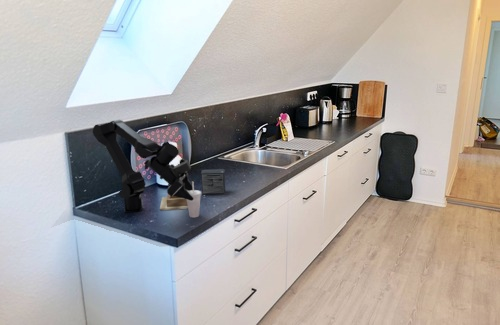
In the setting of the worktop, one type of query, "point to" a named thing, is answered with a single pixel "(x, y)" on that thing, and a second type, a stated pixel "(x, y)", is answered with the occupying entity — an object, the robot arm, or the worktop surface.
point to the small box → (213, 182)
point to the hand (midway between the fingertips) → (193, 195)
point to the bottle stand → (173, 203)
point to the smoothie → (194, 202)
